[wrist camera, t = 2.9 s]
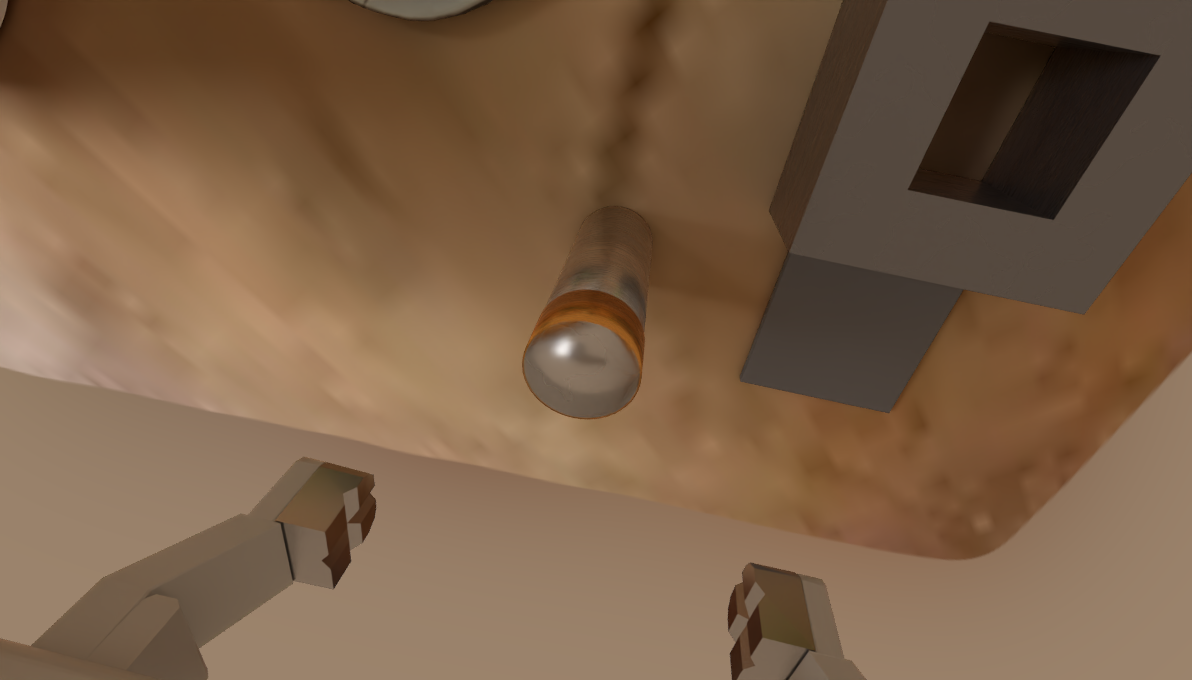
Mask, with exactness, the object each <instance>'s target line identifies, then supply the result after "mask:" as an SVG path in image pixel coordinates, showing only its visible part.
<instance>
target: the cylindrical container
mask: <svg viewBox="0 0 1192 680" xmlns="http://www.w3.org/2000/svg"><path fill="white" fill-rule="evenodd" d="M652 244H653V241H652V234H651V231H650V229H649V227H648V225H647V223H646V222H645V221H644V219H643V218H642V217H641V216H640V215H638V214H637V213H636V212H634V211H632V210H630V209H627V208H624V207H618V206H610V207H605V208H601V209H599V210H597V211H595V212H593V213H592V214H591V215H590V216H589V217H588V218H587V219H586V220H585V221H584V222H583V224H582V226H581V228H580V230H579V233H578V235H577V237H576V240H575V242H574V244H573V246H572V249H571V251H570V253H569V255H568V258H567V260H566V262H565V264H564V267H563V269H562V271H561V273H560V276H559V278H558V280H557V283H556V285H555V287H554V289H553V292H552V294H551V296H550V298H549V301H548V303H547V305H546V307H545V309H544V310H543V312H542V313H541V315H540V317H539V319H538V322H537V324H536V326H535V328H534V331H533V333H532V335H531V337H530V340H529V342H528V344H527V346H526V349H525V351H524V355H523V361H522V368H523V374H524V378H525V381H526V383H527V385H528V387H529V389H530V390H531V392H532V393H533V394H534V395H535V397H536V398H537V399H538V400H539V401H540V402H542V403H543V404H544V405H545V406H547V407H548V408H550V409H551V410H553V411H555V412H557V413H560V414H562V415H565V416H568V417H572V418H578V419H598V418H603V417H607V416H610V415H612V414H615V413H617V412H619V411H620V410H622V409H623V408H625V407H626V406H627V405H628V404H629V403H630V402H631V401H632V400H633V398H634V397H635V395H636V394H637V392H638V390H639V387H640V383H641V377H642V366H643V355H644V343H645V337H644V328H645V318H646V308H647V297H648V287H649V277H650V266H651V256H652Z"/></svg>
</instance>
